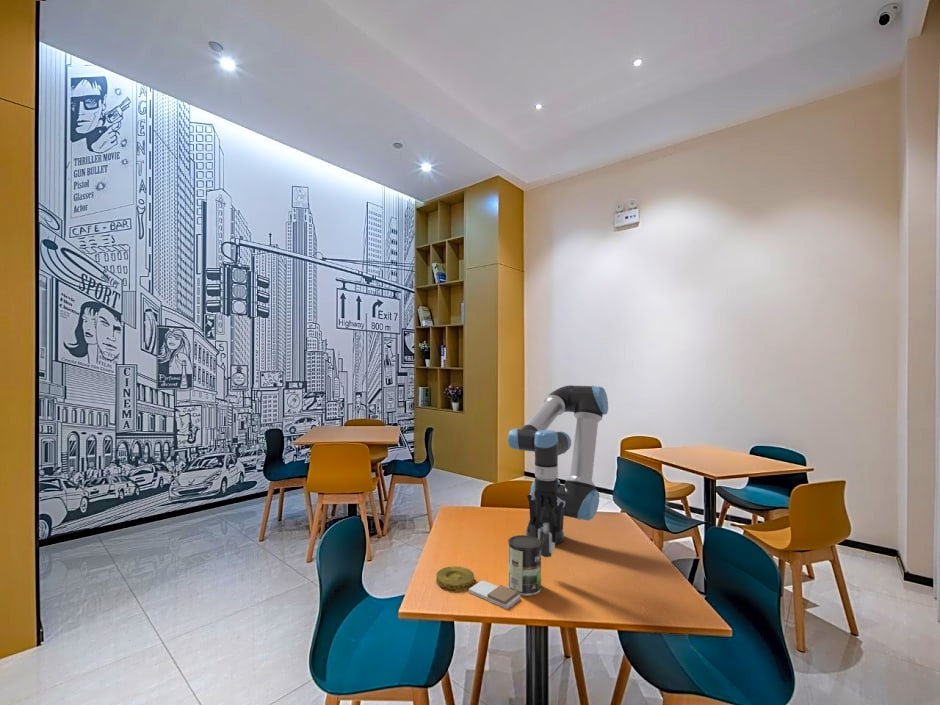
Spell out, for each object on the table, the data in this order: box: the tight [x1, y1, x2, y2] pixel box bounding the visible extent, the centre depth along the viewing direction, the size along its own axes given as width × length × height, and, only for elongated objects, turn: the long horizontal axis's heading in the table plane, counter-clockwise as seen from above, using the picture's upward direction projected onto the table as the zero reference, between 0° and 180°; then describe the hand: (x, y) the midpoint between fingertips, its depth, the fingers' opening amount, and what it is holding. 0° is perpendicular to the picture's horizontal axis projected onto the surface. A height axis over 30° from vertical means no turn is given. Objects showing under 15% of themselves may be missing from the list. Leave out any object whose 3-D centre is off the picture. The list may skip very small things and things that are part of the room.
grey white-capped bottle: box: [541, 523, 552, 558], centre depth 135 cm, size 3×3×10 cm
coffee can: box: [507, 534, 542, 597], centre depth 128 cm, size 10×10×14 cm
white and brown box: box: [468, 580, 522, 610], centre depth 122 cm, size 7×14×2 cm, turn 52°
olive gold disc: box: [435, 565, 475, 592], centre depth 131 cm, size 12×12×2 cm
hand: (546, 549), depth 135 cm, fingers closed on grey white-capped bottle, 3 cm apart
